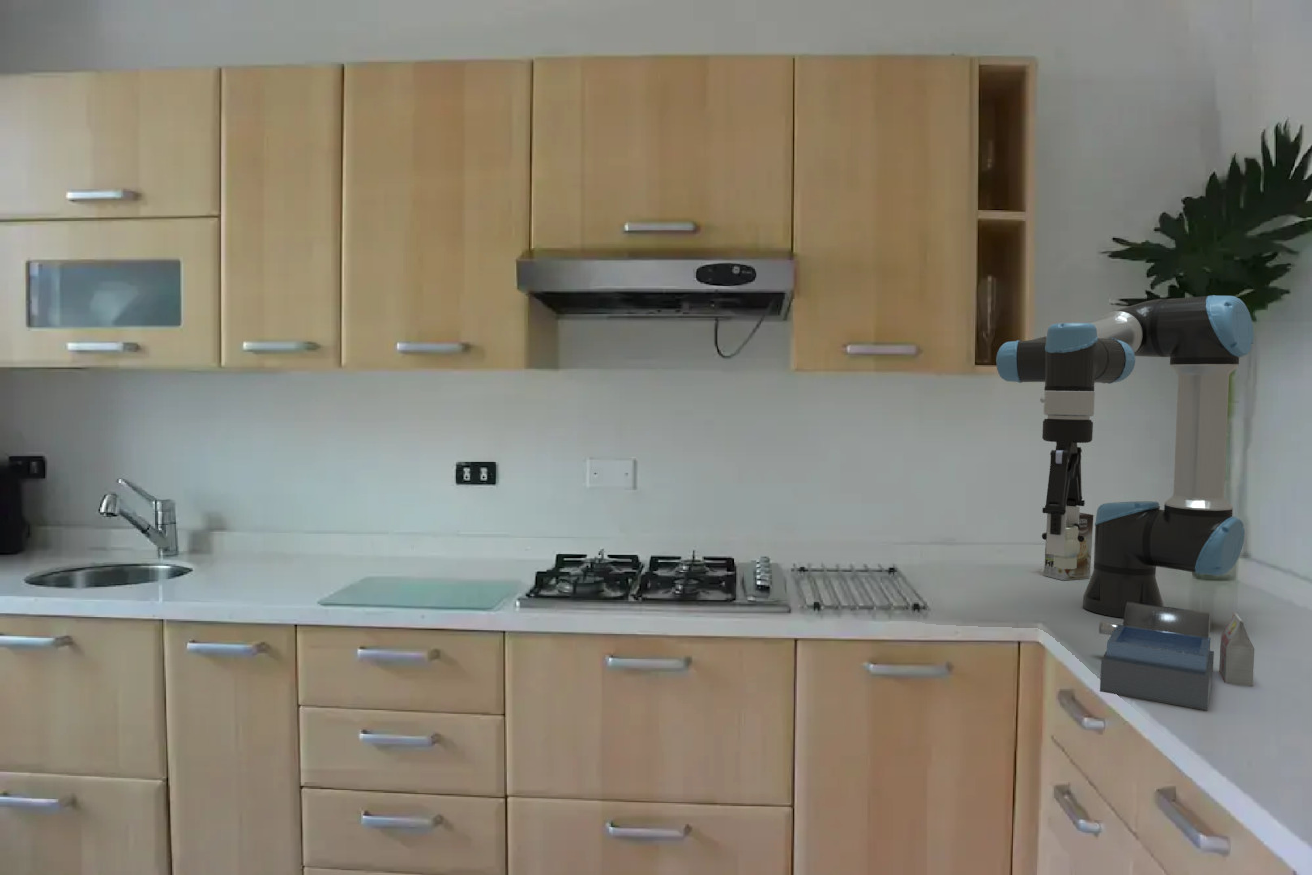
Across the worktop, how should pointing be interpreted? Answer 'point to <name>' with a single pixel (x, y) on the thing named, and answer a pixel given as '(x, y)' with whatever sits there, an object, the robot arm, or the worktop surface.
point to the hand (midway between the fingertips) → (1062, 549)
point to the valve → (1069, 548)
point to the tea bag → (1236, 654)
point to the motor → (1159, 656)
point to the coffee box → (1082, 557)
